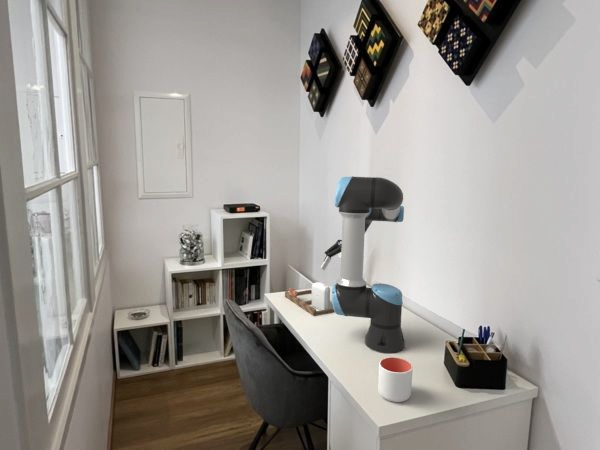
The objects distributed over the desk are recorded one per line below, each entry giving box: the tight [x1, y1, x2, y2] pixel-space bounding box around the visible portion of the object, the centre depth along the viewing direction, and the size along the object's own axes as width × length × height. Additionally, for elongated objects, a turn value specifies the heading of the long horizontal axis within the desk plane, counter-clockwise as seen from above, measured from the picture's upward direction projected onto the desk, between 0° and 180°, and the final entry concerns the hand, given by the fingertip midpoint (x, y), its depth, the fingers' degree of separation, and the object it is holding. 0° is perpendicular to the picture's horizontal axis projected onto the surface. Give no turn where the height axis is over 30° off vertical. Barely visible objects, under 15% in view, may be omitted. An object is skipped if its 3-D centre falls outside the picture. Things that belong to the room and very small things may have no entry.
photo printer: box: [311, 281, 331, 311], centre depth 205 cm, size 10×4×12 cm, turn 39°
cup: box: [377, 356, 413, 403], centre depth 132 cm, size 10×10×10 cm
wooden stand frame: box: [284, 287, 335, 317], centre depth 211 cm, size 29×15×6 cm, turn 29°
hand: (332, 273), depth 204 cm, fingers open, 13 cm apart
